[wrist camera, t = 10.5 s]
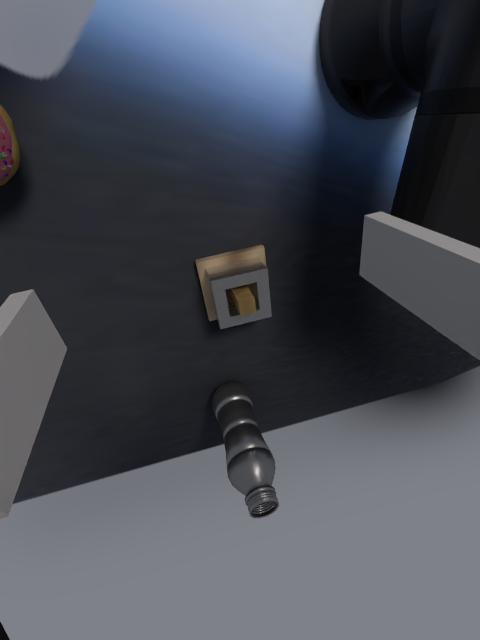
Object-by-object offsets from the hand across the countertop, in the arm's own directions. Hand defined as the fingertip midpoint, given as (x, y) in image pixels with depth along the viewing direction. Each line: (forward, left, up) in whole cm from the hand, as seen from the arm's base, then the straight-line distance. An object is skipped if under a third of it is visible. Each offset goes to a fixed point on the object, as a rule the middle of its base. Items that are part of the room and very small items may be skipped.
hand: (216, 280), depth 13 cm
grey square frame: (-5, +14, -26) cm, 30 cm away
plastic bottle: (-1, +34, -27) cm, 43 cm away
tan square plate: (-5, +14, -27) cm, 31 cm away
